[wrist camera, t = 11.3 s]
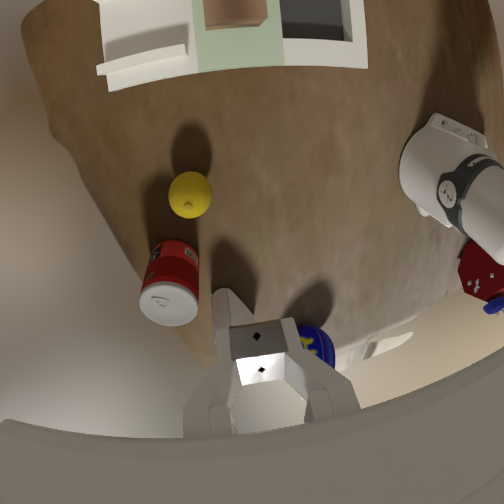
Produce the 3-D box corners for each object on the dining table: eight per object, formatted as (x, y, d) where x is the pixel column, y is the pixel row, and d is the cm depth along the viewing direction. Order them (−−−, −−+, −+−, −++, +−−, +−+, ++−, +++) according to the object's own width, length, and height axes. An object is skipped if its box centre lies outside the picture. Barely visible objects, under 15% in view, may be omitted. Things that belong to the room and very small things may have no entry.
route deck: (348, -30, 23) (368, -41, 18) (357, 68, 32) (379, 69, 27) (106, -13, 21) (90, -24, 16) (116, 90, 30) (100, 93, 25)
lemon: (168, 168, 38) (159, 190, 31) (208, 161, 38) (208, 181, 31) (176, 204, 41) (170, 232, 34) (214, 197, 41) (215, 225, 34)
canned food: (152, 234, 43) (138, 280, 34) (203, 242, 45) (202, 289, 36) (149, 273, 47) (138, 322, 38) (196, 280, 49) (194, 329, 40)
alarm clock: (458, 277, 59) (503, 333, 42) (442, 269, 56) (491, 332, 40) (490, 228, 52) (543, 279, 35) (476, 216, 49) (536, 271, 33)
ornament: (307, 308, 56) (330, 371, 44) (333, 325, 60) (356, 383, 48) (267, 339, 60) (280, 400, 48) (295, 352, 64) (310, 409, 52)
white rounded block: (257, 316, 56) (267, 369, 45) (238, 325, 56) (245, 378, 46) (228, 282, 50) (233, 339, 40) (207, 293, 51) (208, 350, 41)
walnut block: (254, -16, 23) (263, -32, 18) (258, 26, 26) (267, 17, 21) (202, -12, 22) (200, -28, 17) (206, 30, 26) (204, 21, 21)
